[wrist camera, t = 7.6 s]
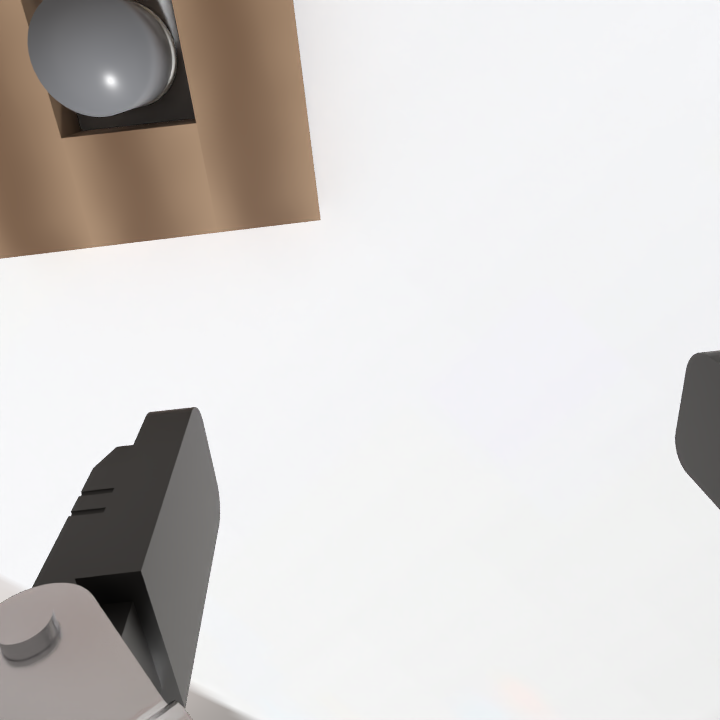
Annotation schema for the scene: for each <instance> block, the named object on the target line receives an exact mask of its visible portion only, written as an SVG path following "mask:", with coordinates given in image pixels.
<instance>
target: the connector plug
mask: <svg viewBox="0 0 720 720" xmlns="http://www.w3.org/2000/svg"><path fill="white" fill-rule="evenodd" d="M27 44H28V53H29V57H30V61H31V64H32V67H33V69H34V71H35V73H36V75H37V77H38V79H39V81H40V82H41V84H42V85H43V86H44V88H45V89H46V90H47V91H48V93H49V94H50V95H51V96H52V97H53V98H54V99H56V100H57V101H58V102H59V103H61V104H62V105H64V106H65V107H67V108H69V109H71V110H73V111H75V112H77V113H80V114H83V115H87V116H93V117H107V116H112V115H116V114H118V113H121V112H124V111H127V110H130V109H133V108H139V107H143V106H146V105H149V104H151V103H153V102H155V101H157V100H158V99H160V98H161V97H162V96H163V95H164V94H165V93H166V92H167V91H168V90H169V88H170V86H171V85H172V83H173V80H174V78H175V75H176V70H177V52H176V47H175V43H174V41H173V38H172V36H171V34H170V32H169V30H168V28H167V27H166V26H165V24H164V23H163V21H162V20H161V19H160V18H159V17H158V16H157V15H156V14H155V13H154V12H153V11H151V10H150V9H148V8H147V7H145V6H143V5H142V4H139V3H137V2H134V1H132V0H43V1H42V2H41V4H40V5H39V6H38V7H37V9H36V10H35V12H34V14H33V16H32V18H31V21H30V25H29V29H28V42H27Z"/></svg>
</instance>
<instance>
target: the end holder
mask: <svg viewBox="0 0 720 720" xmlns="http://www.w3.org/2000/svg"><path fill="white" fill-rule="evenodd" d="M42 1H43V0H0V259H1V258H9V257H17V256H26V255H34V254H42V253H50V252H59V251H67V250H75V249H84V248H92V247H100V246H109V245H117V244H125V243H134V242H142V241H150V240H158V239H167V238H175V237H183V236H192V235H200V234H208V233H217V232H225V231H233V230H242V229H250V228H258V227H267V226H275V225H283V224H291V223H300V222H308V221H316V220H320V212H319V204H318V196H317V188H316V180H315V172H314V164H313V156H312V148H311V140H310V132H309V124H308V116H307V108H306V100H305V92H304V84H303V76H302V68H301V60H300V52H299V44H298V36H297V28H296V21H295V13H294V5H293V0H172V4H173V9H174V14H175V19H176V24H177V29H178V34H179V39H180V44H181V49H182V54H183V59H184V64H185V69H186V74H187V79H188V84H189V89H190V94H191V99H192V104H193V109H194V114H195V118H194V119H185V120H176V121H167V122H158V123H149V124H140V125H131V126H122V127H113V128H104V129H95V130H86V131H81V128H80V125H79V121H78V117H77V114H76V112H75V111H73V110H71V109H69V108H67V107H65V106H64V105H62V104H61V103H59V102H58V101H57V100H56V99H54V98H53V97H52V96H51V95H50V94H49V93H48V91H47V90H46V89H45V88H44V86H43V85H42V84H41V82H40V81H39V79H38V77H37V75H36V73H35V71H34V69H33V67H32V64H31V61H30V57H29V53H28V44H27V42H28V29H29V25H30V21H31V18H32V16H33V14H34V12H35V10H36V9H37V7H38V6H39V5H40V4H41V2H42Z"/></svg>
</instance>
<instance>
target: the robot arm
mask: <svg viewBox="0 0 720 720" xmlns="http://www.w3.org/2000/svg"><path fill="white" fill-rule="evenodd" d="M675 444H676V451H677V454H678V458H679V460H680V463H681V465H682V467H683V468H684V470H685V471H686V472H687V474H688V475H689V476H690V477H691V478H692V479H693V480H694V481H695V483H696V484H697V485H698V486H699V487H700V488H701V489H702V490H703V491H704V493H705V494H706V495H707V496H708V497H709V498H710V499H711V500H712V501H713V502H714V504H715V505H716V506H717V507H718V508H719V509H720V351H711V352H702V353H697V354H695V355H693V356H692V357H691V358H690V360H689V362H688V365H687V368H686V374H685V380H684V386H683V392H682V398H681V404H680V410H679V416H678V422H677V428H676V435H675ZM81 493H82V496H79V497H78V499H77V501H76V503H75V505H74V507H73V509H72V511H71V513H72V515H71V516H69V517H68V518H67V520H66V522H65V524H64V526H63V528H62V530H61V532H60V534H59V536H58V538H57V540H56V542H55V544H54V546H53V548H52V550H51V552H50V554H49V556H48V558H47V560H46V561H45V563H44V565H43V567H42V569H41V571H40V573H39V575H38V577H37V579H36V581H35V583H34V585H33V587H32V588H30V589H28V590H25V591H22V592H20V593H18V594H16V595H14V596H12V597H10V598H8V599H6V600H5V601H3V602H1V603H0V720H193V719H192V718H191V716H190V715H189V714H188V712H187V711H186V710H185V706H186V701H187V695H188V690H189V685H190V679H191V674H192V669H193V663H194V658H195V652H196V647H197V641H198V636H199V631H200V625H201V620H202V614H203V609H204V604H205V598H206V593H207V587H208V582H209V577H210V571H211V566H212V560H213V555H214V549H215V544H216V539H217V533H218V528H219V521H220V501H219V491H218V486H217V481H216V477H215V472H214V468H213V463H212V459H211V455H210V450H209V446H208V441H207V437H206V433H205V428H204V424H203V420H202V416H201V414H200V411H199V410H198V408H196V407H192V408H183V409H174V410H165V411H156V412H149V413H148V414H147V416H146V417H145V420H144V422H143V424H142V427H141V429H140V431H139V433H138V436H137V438H136V440H135V442H134V445H129V446H120V447H116V448H115V449H114V450H113V451H112V452H111V453H110V454H108V455H107V456H106V457H105V458H104V459H103V460H102V461H101V462H100V463H98V464H97V465H96V466H95V467H94V468H93V470H92V472H91V474H90V476H89V477H88V479H87V481H86V483H85V485H84V487H83V489H82V491H81Z"/></svg>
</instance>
